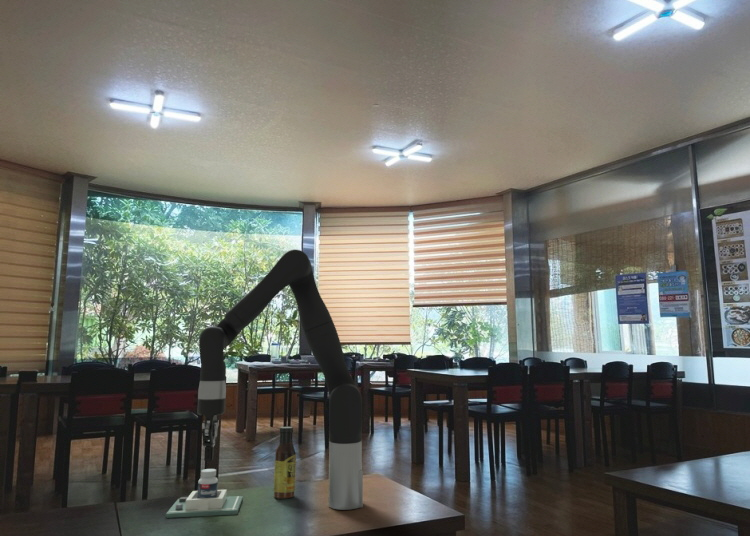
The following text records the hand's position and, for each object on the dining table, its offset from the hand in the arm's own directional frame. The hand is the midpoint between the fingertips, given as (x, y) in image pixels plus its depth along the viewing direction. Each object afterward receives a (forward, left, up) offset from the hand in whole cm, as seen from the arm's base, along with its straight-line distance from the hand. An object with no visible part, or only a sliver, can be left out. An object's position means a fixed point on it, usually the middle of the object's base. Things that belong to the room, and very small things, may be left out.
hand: (208, 460), depth 141 cm
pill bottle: (0, 0, -12) cm, 12 cm away
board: (0, 0, -12) cm, 13 cm away
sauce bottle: (-21, -8, -13) cm, 26 cm away
